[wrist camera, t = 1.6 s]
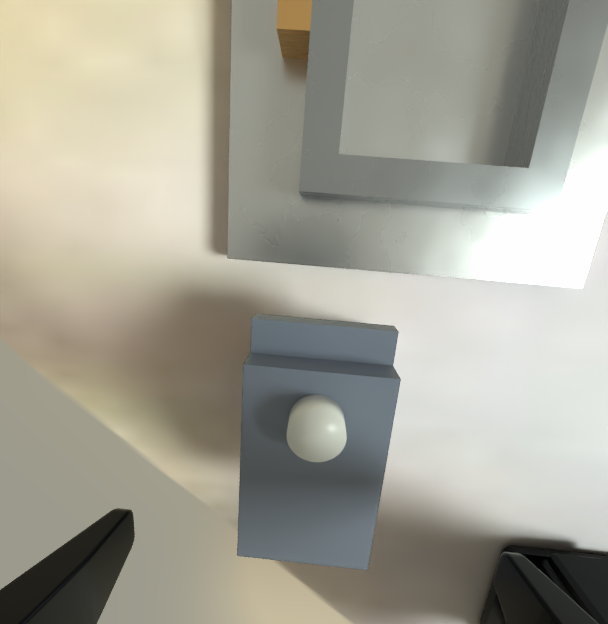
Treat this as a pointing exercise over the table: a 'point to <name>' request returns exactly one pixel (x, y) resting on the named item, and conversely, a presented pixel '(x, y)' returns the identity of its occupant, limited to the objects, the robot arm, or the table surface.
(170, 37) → the table surface
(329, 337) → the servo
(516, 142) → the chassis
